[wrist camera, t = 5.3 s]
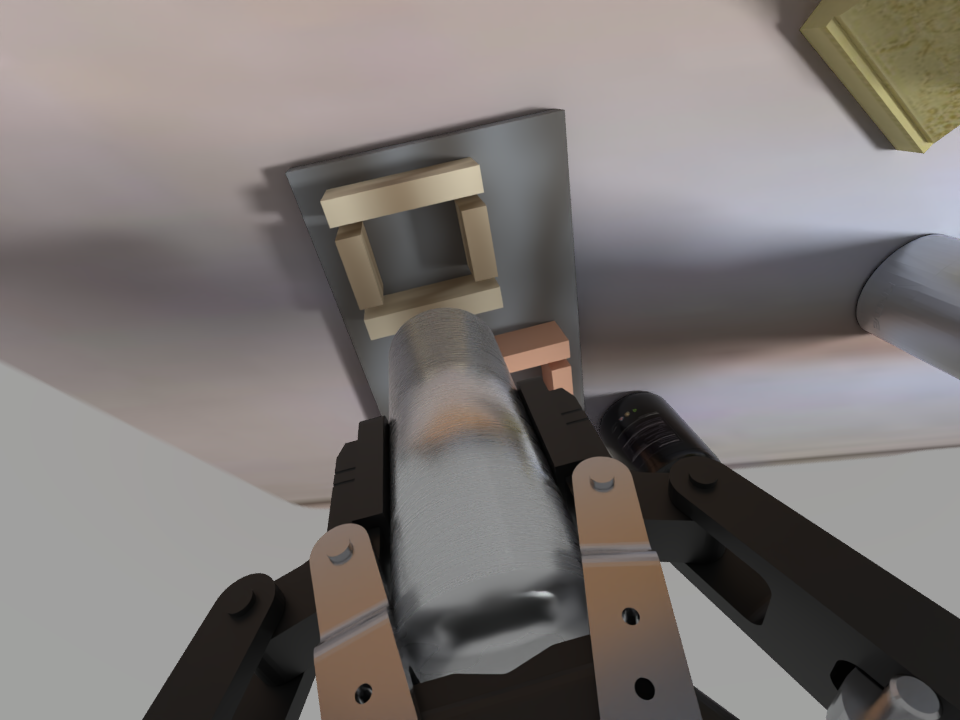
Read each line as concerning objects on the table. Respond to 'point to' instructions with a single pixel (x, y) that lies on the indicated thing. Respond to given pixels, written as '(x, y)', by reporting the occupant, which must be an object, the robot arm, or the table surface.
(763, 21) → the table surface
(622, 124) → the table surface
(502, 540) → the peg
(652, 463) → the supplement bottle
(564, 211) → the mount board
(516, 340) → the socket
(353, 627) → the robot arm
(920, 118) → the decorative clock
